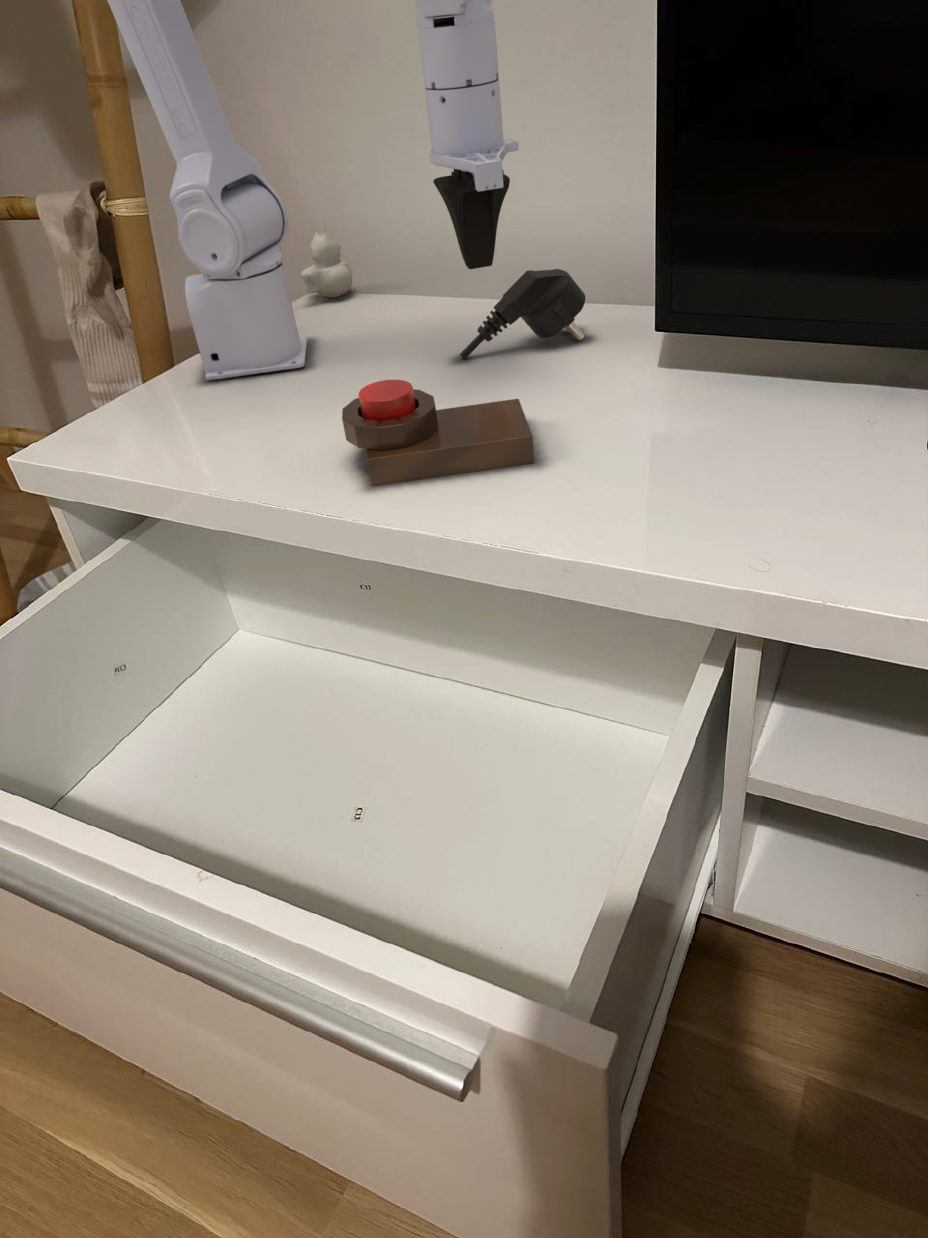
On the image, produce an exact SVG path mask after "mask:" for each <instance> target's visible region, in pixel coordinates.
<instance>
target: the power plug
mask: <svg viewBox="0 0 928 1238" xmlns="http://www.w3.org/2000/svg"><path fill="white" fill-rule="evenodd" d="M585 304H586V294H585V293H584V291H583V290H582V289H581V287H580V286H579V285H578V284H577V283H576V281H575V280H574V279H573V277H572V276H571V275H570V274H569V272H567V271H566V270H563V269H560V268H554V269H543V270H542V269H541V270H534V269H533V270H532V269H531V270H530V269H529V270H526V271H525V272H523V274H522V275H521V276H520V277H519V278H518V279H517V280H516V281H515V282H514V283H513V284H512V285H511V286H510V287H509V288H508V289H507V290H506V291H505V292H504V293H503V294H502V297H501V298H500V300H499V301H498V302H497V303H496V304H494V306H493V309H494V311H493V310H490V311H489V314H490V315H491V316H490V315H486V317H485V318H486V319H487V320H485V319H484V320H483V321H482V324H483V325H484V326H482V325H481V324H480V325H479V327H478V328H477V331H476V332H477V333H478V335H477V336H475V337H474V339H473V340H472V341H471V342H470V343H469V344H468V345H467V346H466V347H465V348H464V349H463V350H462V351H461V352H460V353H459V354H458V355H459V356H460V357H461V358H462V359H463V360H466V359H467V358H468V357H469V356H470V355H471V354H472V353H473V352H474V351H475V350H476V349H477V348H478V347H479V346H480V345H481V343H482V342H484V341H486V342H487V343H488V342H491V341H492V340H493V339H494V338H493V336H494V337H497V336H498V335H499V334H498V332H499V333H502V332H503V329H505V330H506V329H508V326H507V325H509V326H511V325H513V324H514V323H515V322H517V321H518V320H519V319H520V318H521V319H522V320H523V321H524V322H525V324H527V327H529V328H530V329H531V331H532V332H533V333H534V334H535V335H536V336H537V337H538V338H539V339H548V338H552V337H554V336H556V335H559V334H560V333H561V332H562V330H565V331H566V332H567V333H571V334H572V335H573V337H574V338H575V339H576V340H577V341H582V340H583V339H584V337H585V335H584V332H583V331H582V330H581V329H580V327H579V326H578V325H577V324H576V323H575V320H576V319H575V318H576V317H577V316H578V315H579V313H581V312H582V310H583V308H584V306H585ZM502 327H503V329H502ZM492 335H493V336H492Z"/></svg>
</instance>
